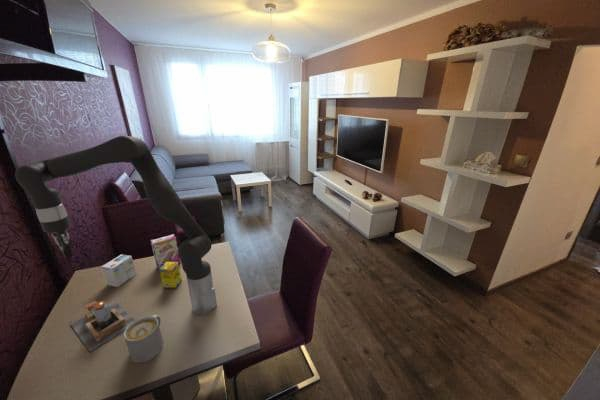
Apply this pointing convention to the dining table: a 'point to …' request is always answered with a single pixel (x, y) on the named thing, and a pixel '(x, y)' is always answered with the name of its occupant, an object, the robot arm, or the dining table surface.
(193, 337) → the dining table surface
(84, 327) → the dock
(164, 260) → the candy bar box
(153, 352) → the coffee mug
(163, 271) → the supplement box
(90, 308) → the pin
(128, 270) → the light bulb box
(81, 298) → the dining table surface
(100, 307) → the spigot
